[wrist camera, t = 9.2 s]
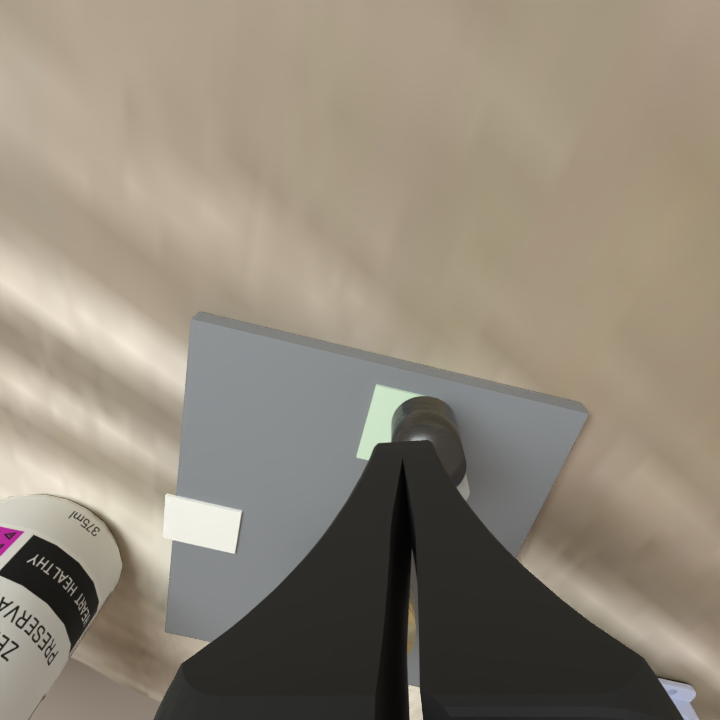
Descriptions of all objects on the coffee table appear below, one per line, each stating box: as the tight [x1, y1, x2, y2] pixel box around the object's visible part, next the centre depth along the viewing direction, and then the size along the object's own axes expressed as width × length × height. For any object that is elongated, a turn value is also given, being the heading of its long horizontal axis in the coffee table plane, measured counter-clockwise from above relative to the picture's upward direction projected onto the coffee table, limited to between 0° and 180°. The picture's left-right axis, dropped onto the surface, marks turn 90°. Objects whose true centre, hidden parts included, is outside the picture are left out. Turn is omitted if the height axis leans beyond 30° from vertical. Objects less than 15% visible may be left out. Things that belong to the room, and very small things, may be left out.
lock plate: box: [162, 312, 589, 687], centre depth 24 cm, size 18×21×5 cm
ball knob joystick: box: [391, 396, 466, 656], centre depth 20 cm, size 15×6×3 cm, turn 164°
